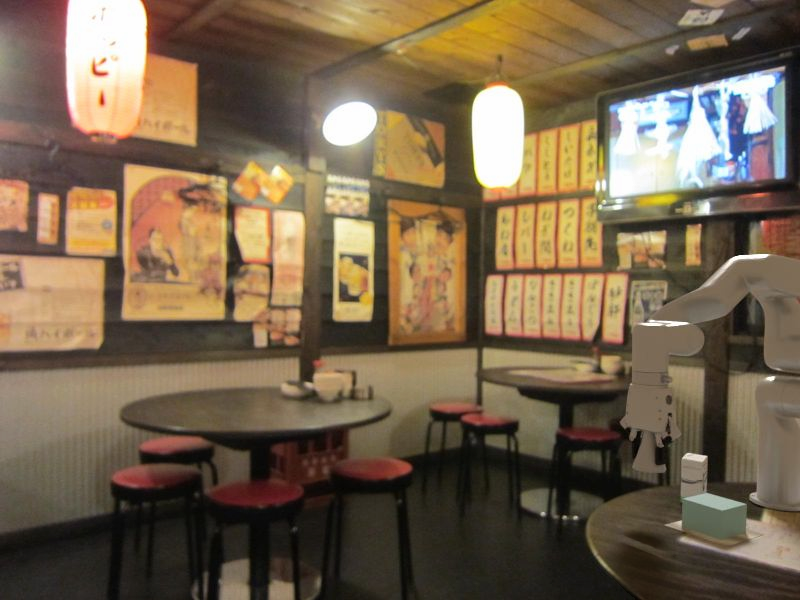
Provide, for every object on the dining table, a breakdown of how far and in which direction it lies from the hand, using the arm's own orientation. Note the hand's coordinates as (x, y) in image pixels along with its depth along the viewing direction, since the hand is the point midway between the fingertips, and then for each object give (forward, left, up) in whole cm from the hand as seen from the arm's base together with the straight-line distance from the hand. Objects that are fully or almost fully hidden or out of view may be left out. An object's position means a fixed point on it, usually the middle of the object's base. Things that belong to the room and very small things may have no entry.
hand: (649, 460), depth 145 cm
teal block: (-7, +11, -13) cm, 19 cm away
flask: (0, 0, -2) cm, 2 cm away
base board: (-7, +11, -14) cm, 19 cm away
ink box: (-23, -4, -15) cm, 28 cm away
